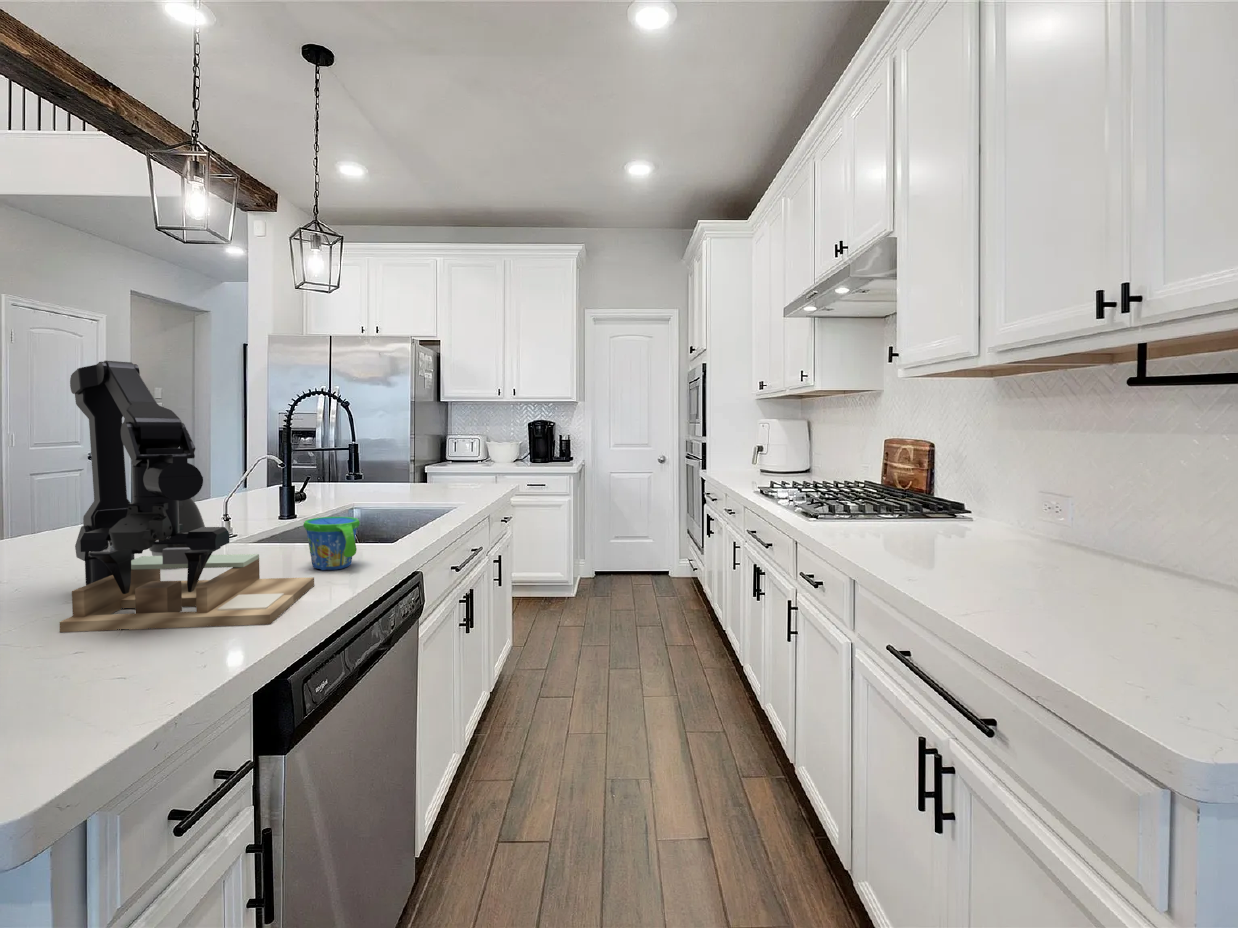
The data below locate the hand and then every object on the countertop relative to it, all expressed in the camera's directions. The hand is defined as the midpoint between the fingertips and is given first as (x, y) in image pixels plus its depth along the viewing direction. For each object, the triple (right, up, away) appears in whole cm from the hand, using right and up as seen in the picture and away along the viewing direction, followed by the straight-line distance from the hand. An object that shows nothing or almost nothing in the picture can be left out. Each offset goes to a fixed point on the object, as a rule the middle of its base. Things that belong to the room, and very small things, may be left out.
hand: (158, 592), depth 98 cm
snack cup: (+12, -2, +34) cm, 36 cm away
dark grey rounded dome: (-21, -1, +34) cm, 40 cm away
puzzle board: (+4, -3, +5) cm, 7 cm away
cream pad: (+13, -2, +3) cm, 14 cm away
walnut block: (0, -4, 0) cm, 4 cm away
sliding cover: (-2, +3, +11) cm, 11 cm away
